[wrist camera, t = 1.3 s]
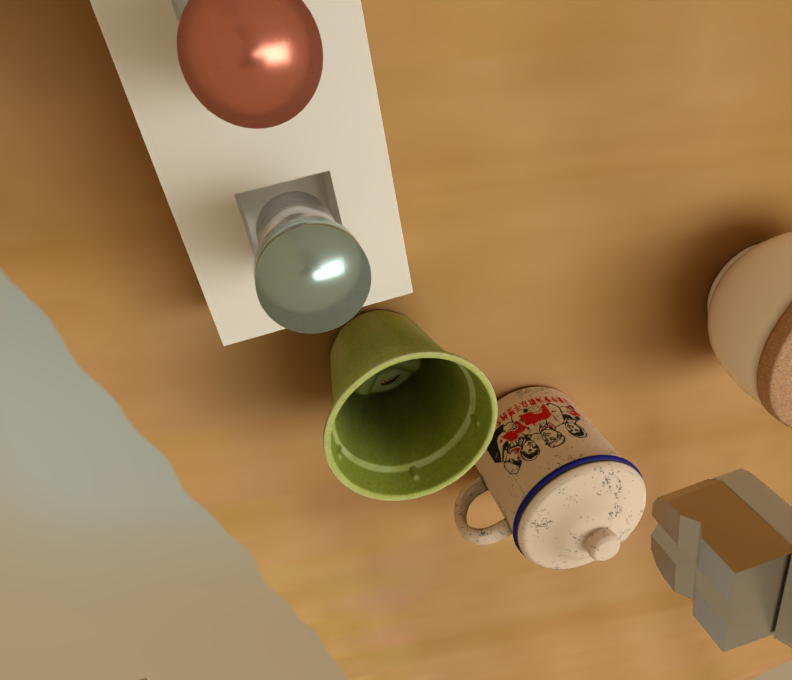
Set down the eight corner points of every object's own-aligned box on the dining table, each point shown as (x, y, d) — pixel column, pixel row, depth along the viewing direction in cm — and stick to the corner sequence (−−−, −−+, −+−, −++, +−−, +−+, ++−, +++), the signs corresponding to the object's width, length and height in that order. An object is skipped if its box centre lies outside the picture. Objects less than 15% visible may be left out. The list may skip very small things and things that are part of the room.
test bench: (-22, -350, 21) (-80, -436, 17) (263, -385, 22) (275, -473, 18) (222, 303, 35) (223, 346, 30) (389, 257, 36) (413, 292, 32)
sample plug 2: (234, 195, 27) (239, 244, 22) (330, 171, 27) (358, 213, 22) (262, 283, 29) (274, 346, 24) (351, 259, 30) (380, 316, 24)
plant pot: (274, 328, 36) (290, 412, 29) (414, 256, 36) (465, 322, 29) (341, 433, 41) (369, 526, 34) (464, 369, 41) (518, 449, 34)
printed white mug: (562, 360, 43) (665, 467, 33) (587, 444, 48) (683, 559, 38) (412, 436, 43) (471, 566, 33) (453, 513, 48) (515, 646, 38)
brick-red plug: (167, -11, 22) (153, -13, 17) (282, -34, 23) (303, -43, 18) (206, 111, 25) (205, 142, 20) (311, 87, 25) (337, 111, 20)
